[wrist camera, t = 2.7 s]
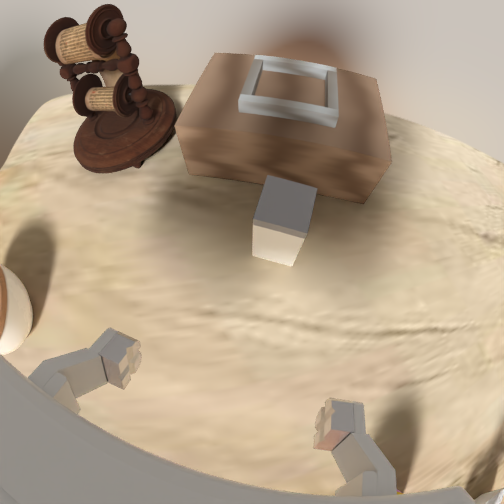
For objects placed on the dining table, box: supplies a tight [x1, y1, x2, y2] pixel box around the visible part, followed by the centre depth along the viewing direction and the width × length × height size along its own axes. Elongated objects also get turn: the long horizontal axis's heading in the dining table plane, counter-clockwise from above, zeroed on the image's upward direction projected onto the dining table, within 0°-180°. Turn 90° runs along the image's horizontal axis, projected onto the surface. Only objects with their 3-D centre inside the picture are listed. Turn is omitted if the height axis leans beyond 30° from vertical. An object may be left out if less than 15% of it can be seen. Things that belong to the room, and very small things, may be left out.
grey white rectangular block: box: [252, 175, 317, 267], centre depth 24 cm, size 4×4×8 cm
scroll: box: [44, 4, 176, 173], centre depth 24 cm, size 15×15×20 cm
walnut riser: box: [175, 53, 392, 204], centre depth 28 cm, size 20×14×10 cm
